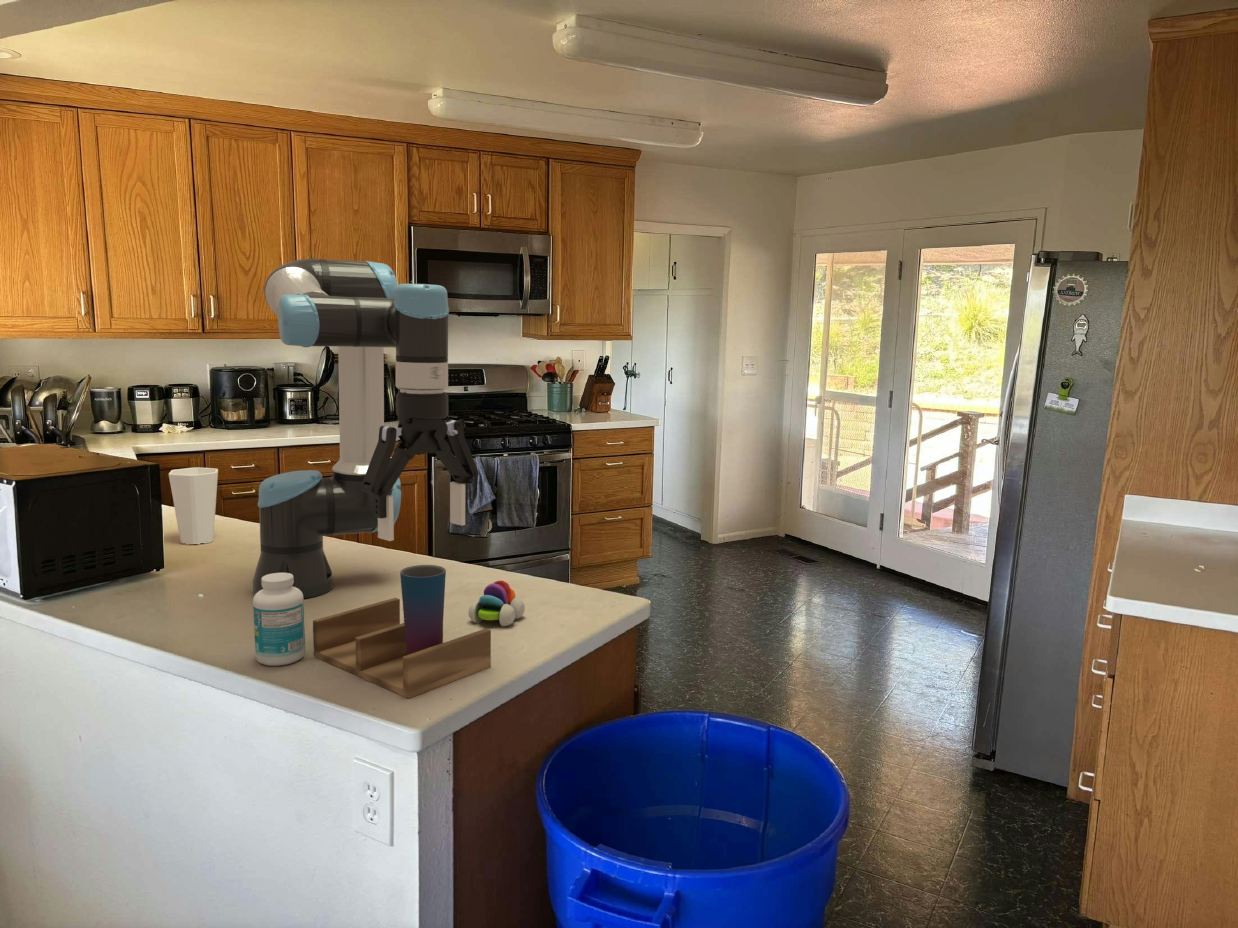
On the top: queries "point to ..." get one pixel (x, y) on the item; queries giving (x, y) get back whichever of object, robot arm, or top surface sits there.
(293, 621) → the pill bottle
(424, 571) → the cup
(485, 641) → the rack
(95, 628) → the top surface
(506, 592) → the rainbow disc stack
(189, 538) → the cup
